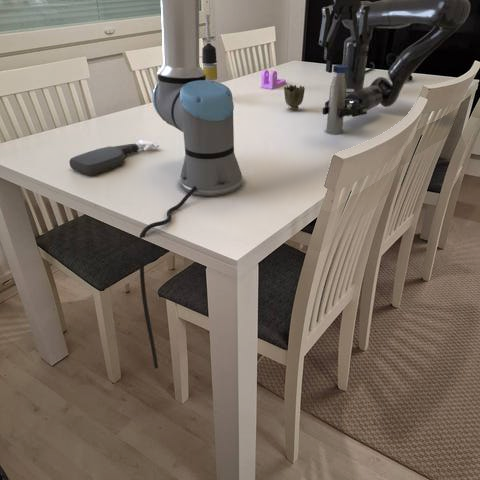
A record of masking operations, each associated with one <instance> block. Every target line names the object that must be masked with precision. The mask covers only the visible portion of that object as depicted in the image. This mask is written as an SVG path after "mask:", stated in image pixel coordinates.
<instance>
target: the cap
mask: <svg viewBox="0 0 480 480" xmlns="http://www.w3.org/2000/svg"><path fill="white" fill-rule="evenodd" d="M347 67H348V66H346V65H342V64H333V66H332V73H334V74H335V73H346V72H347Z"/></svg>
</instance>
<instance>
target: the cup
mask: <svg viewBox="0 0 480 480" xmlns="http://www.w3.org/2000/svg"><path fill="white" fill-rule="evenodd" d="M283 90H284V91H283V92H284V101H285V103H286V105H287V106H288V110H289V111H292V112H295V111H298V110H299V106H300V105H302V103H303V101H304V97H305V91H306V87H305V85H304V86H302V85H299V86H297V85H292V84H290V85H289V86H288V85H286V86H284V88H283Z"/></svg>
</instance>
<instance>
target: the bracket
mask: <svg viewBox="0 0 480 480" xmlns="http://www.w3.org/2000/svg"><path fill="white" fill-rule="evenodd" d="M260 76H261V79H260V80H261V83H260V84H261V85H260V87H261V88H264V89H270V90H274V89H276V88H279V87H281V86H284V85H286V84H287V79H284V78H278V72H277V71H276V70H271V71H269V70H268V69H263V70H262V71H261V75H260Z"/></svg>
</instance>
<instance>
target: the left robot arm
mask: <svg viewBox="0 0 480 480" xmlns="http://www.w3.org/2000/svg"><path fill="white" fill-rule="evenodd" d="M359 9H360V22H359V32H358V26H357V16H356V14H357V12H358V11H359ZM369 10H370V6H366V5H361V0H332V2H331V5H328V6H323V7H322V8H321V15H322V19H321V25H320V31H319V40H318V45H319V46H321V47H323V48H324V55H323V59H324V61H326V63H325V72H327V73H329V74H332V73H333V66H334V64H333V63H334V52H335V48H333V45H334V41H335V40H336V36H337V35H338V34H337V33H338V31H339V28H340V26H341V24H343V22H342V20H346V19H348V22H349V25H350V29H349V30H350V37H351V36H352V42H353V45H354V46H350V53H349V63H348V70H350V71H354V69H355V60H356V58H358V55H359V47H361V46H362V44H366V42H367V21H368V13H369ZM160 11H161V12H160V13H161V36H162V38H161V39H162V58H163V59H162V61H163V64H162V66H161V67H160V68H159V69H158V71H157V83H156V85H155V86H154V87H153V90H152V105H153V107H154V110H155V112H156V113H157V115H158V116H159V117H160V118H161V119H162V120H163V121H164V122H165V123H166V124H168V125H169V126H171V127H174V128H176V129H177V130H179V131H180V132H182V133H183V141H184V142H183V143H184V154H185V155H184V158H183V164H182V168H181V171H180V177H179V178H180V179H179V183H180V184H179V185H180V188H181V189H182V191H184V192H186V194H185V196H183V198H182V199H181V200H180V201H179V202H178V203H177V204H176V205H174V206H172V207H170V208H169V209H168V210H166V217H167V218H166V219H164V220H161V221H160V220H159V221H156V222H151V223H150V224H148V225H146V226H145V227H144V228H143V229H142V231H141V232H140V235H139V238H140V239H143V238H144V237H145V236H146V234H147V233H148V232H149V230H151V229H153V228H156V227H159V226H165V225H167V224H168V223H170V222H171V220H172V213H173V212H175V211H177V210H178V209H180V208H181V207H182V206H183V205H184V204H185V203H186V202H187V200H188V199H189V198H190V197H191V196H192V195H194V196H199V197H221V196H224V195H229V194H232V193H234V192H235V191H237V190H239V189H240V188H241V187H242V185H243V174H242V171H241V168H240V165H239V163H238V160H237V157H236V154H235V132H234V131H235V130H234V127H235V126H234V109H235V105H234V100H233V93H232V91H231V89H230V88H229V87H228V86H227V85H226V84H223V83H221V82H219V81H215V82H211V81H208V80H206V73H205V71H204V70H203V67H201V65H200V0H160ZM332 13H333V14H334V15H333V17H332V23H331V26H330V21H331V15H332ZM329 27H330V28H329ZM139 278H140V290H141V298H142V299H141V300H142V306H143V311H144V312H143V313H144V317H145V324H146V328H147V333H148V338H149V339H148V340H149V343H150V348H151V356H152V361H153V368H154V369H158V368H159V365H158V358H157V350H156V345H155V340H154V335H153V334H154V333H153V330H152V324H151V318H150V313H149V307H148V300H147V292H146V282H145V281H146V280H145V262H144V261H141V260H139Z"/></svg>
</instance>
